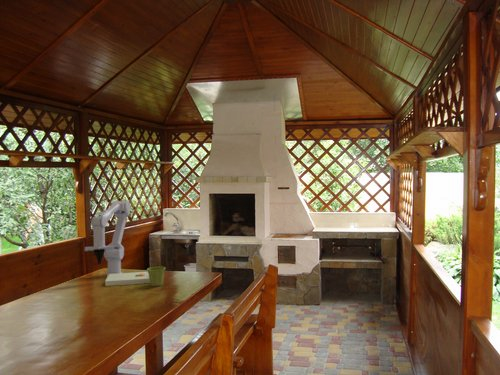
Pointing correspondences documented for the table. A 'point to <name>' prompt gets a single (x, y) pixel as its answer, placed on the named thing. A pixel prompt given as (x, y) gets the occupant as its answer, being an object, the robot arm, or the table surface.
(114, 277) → the deck
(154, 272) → the plant pot
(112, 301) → the table surface
